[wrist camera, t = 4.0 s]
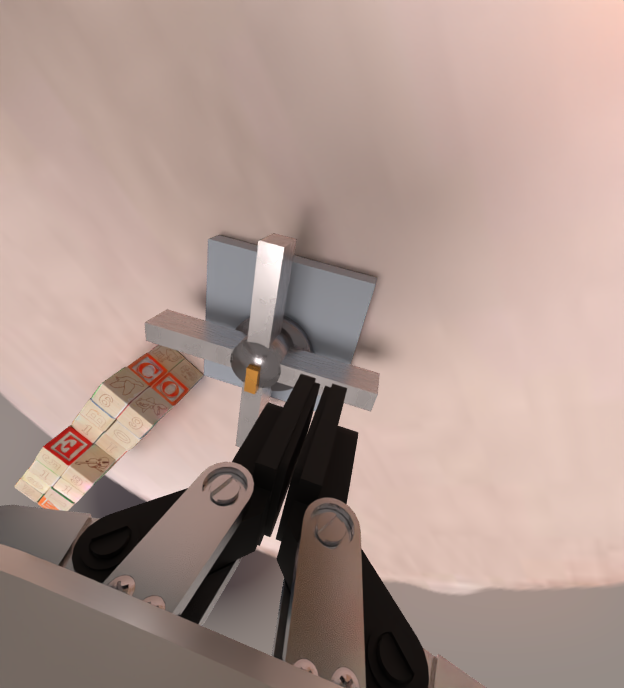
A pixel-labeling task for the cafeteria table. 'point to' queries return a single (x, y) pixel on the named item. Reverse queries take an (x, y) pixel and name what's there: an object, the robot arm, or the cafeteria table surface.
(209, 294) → the stand
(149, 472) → the cafeteria table surface
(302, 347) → the capstan
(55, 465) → the stack of blocks
